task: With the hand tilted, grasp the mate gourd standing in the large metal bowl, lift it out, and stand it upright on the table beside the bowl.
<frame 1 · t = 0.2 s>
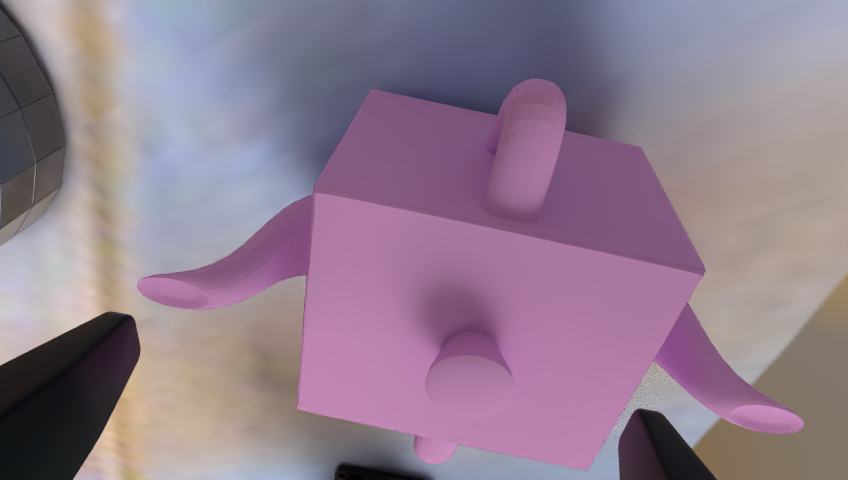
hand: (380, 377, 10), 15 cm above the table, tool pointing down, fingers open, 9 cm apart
teapot: (479, 197, 24), on the table
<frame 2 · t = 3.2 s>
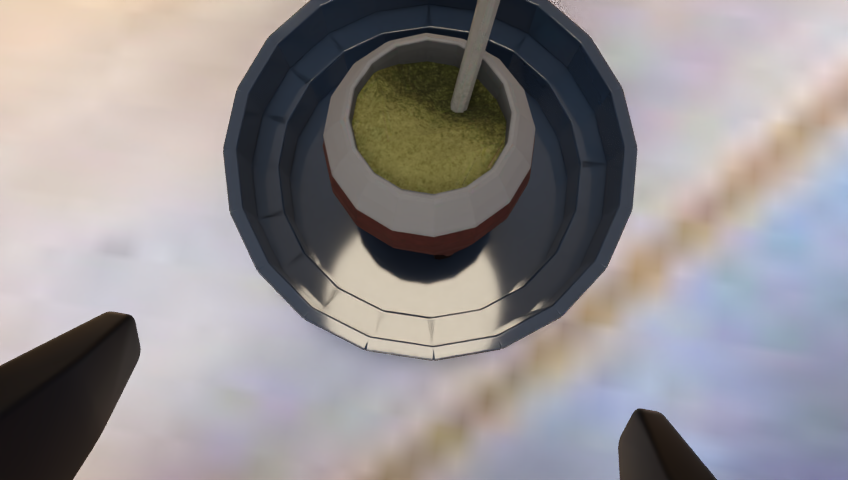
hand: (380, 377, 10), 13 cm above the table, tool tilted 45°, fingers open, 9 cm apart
mate gourd: (428, 180, 24), resting on large metal bowl
large metal bowl: (428, 181, 24), on the table
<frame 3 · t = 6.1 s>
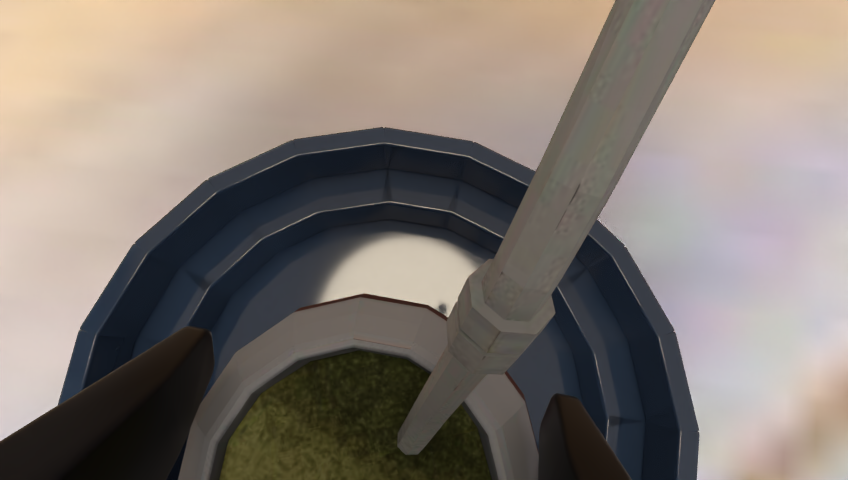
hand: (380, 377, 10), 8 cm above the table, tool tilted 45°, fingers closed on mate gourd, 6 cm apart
mate gourd: (386, 412, 17), resting on large metal bowl, touching gripper
large metal bowl: (386, 412, 17), on the table
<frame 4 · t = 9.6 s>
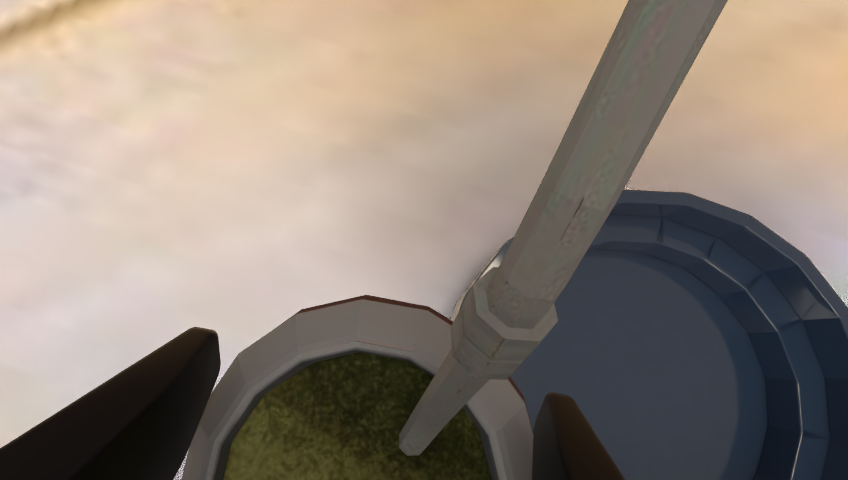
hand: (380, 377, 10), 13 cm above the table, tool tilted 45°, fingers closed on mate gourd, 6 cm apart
mate gourd: (386, 412, 17), point 6 cm above the table, touching gripper
large metal bowl: (617, 394, 23), on the table
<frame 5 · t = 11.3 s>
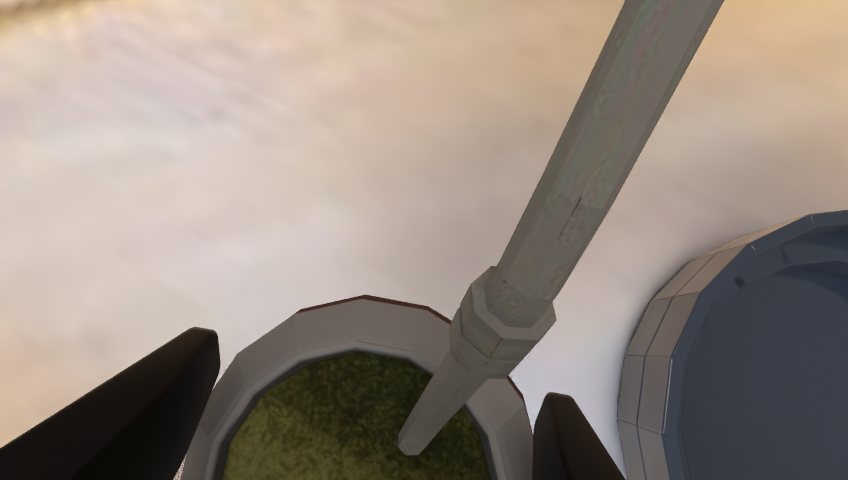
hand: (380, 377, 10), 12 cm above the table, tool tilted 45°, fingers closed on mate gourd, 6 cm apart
mate gourd: (385, 412, 17), point 4 cm above the table, touching gripper
large metal bowl: (809, 424, 21), on the table
when the fingers open (7 cm above the table, at t = 13.0 s): mate gourd stays where it is, on the table.
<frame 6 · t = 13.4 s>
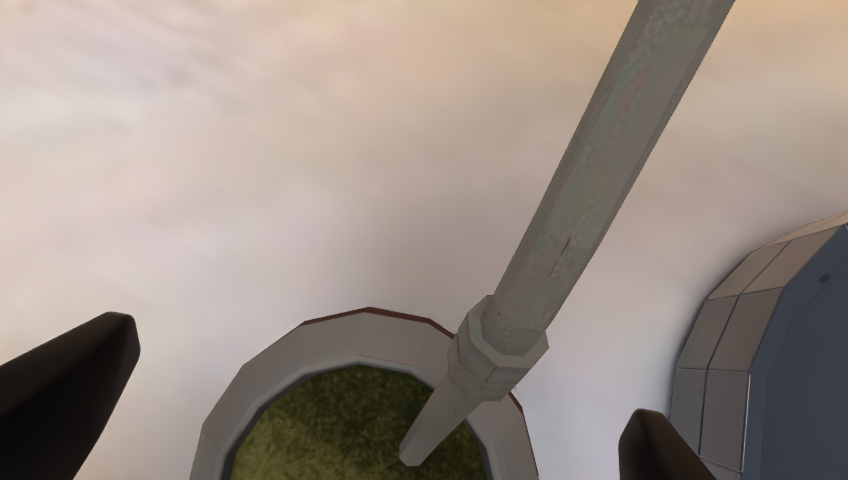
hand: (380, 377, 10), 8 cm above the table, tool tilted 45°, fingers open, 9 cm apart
mate gourd: (387, 419, 17), on the table
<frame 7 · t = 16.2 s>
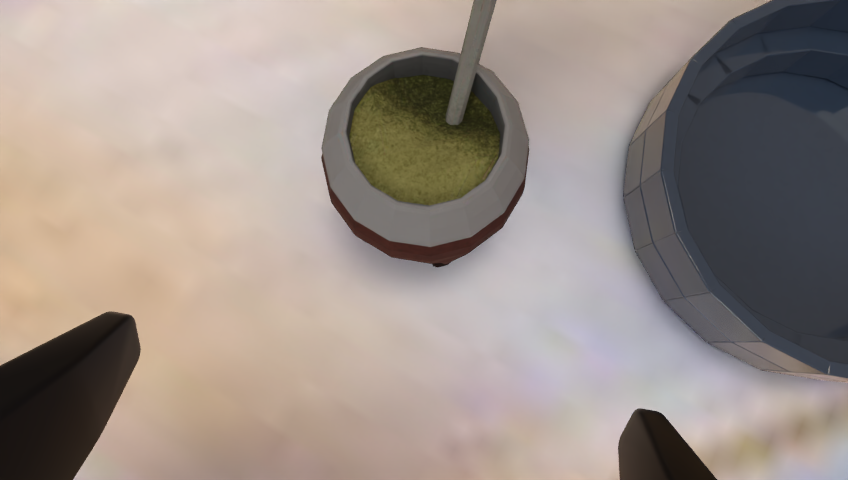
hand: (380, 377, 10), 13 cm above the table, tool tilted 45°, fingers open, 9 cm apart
mate gourd: (427, 189, 25), on the table
large metal bowl: (792, 202, 24), on the table
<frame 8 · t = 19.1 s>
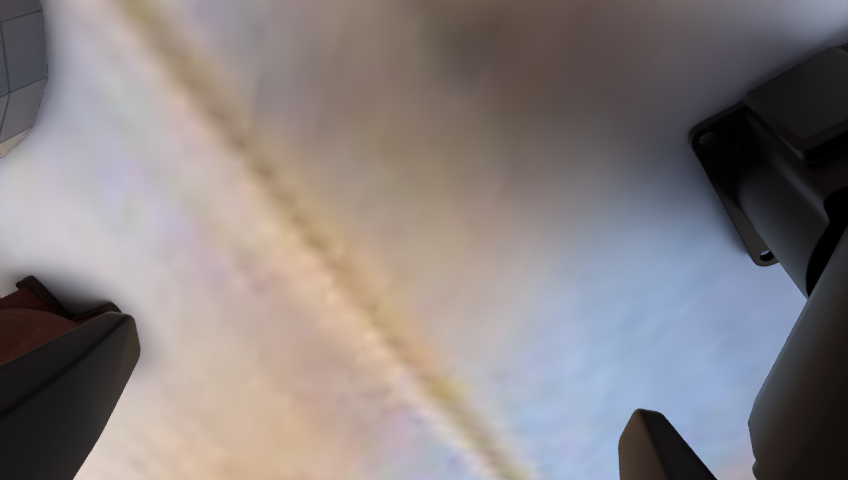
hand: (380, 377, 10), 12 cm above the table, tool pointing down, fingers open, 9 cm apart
mate gourd: (66, 320, 28), on the table
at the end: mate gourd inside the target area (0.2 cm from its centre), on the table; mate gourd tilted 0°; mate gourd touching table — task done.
